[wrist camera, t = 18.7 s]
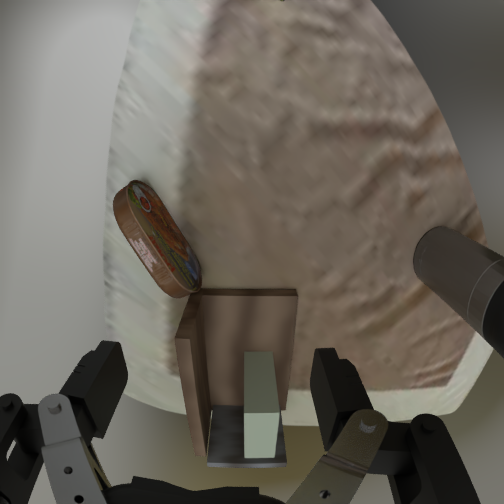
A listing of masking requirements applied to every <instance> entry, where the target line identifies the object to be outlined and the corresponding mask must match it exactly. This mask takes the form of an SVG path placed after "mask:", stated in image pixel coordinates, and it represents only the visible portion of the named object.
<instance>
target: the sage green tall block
mask: <svg viewBox="0 0 504 504" xmlns="http://www.w3.org/2000/svg"><path fill="white" fill-rule="evenodd" d="M279 415H280V411H279V402H278V394H277V385H276V377H275V368H274V360H273V351H272V352H244V456H245V458H274V457H275V449H276V441H277V432H278V424H279Z"/></svg>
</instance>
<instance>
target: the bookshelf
mask: <svg viewBox="0 0 504 504" xmlns="http://www.w3.org/2000/svg"><path fill="white" fill-rule="evenodd" d="M297 300H298V295H297V292H296V289H287V290H269V289H200V290H199V291H197V292H193V293H191V294H190V296H189V299H188V302H187V305H186V307H185V310H184V313H183V316H182V319H181V321H180V324H179V327H178V330H177V333H176V336H175V345H176V352H177V359H178V366H179V372H180V378H181V384H182V390H183V396H184V402H185V407H186V413H187V418H188V422H189V428H190V433H191V438H192V442H193V447H194V452H195V455H196V456H206V453H207V444H208V436H209V427H210V418H211V410H213V412H212V421H211V430H210V439H209V449H208V459H207V465H208V466H210V467H235V468H263V467H286V464H287V459H286V451H285V443H284V434H283V425H282V417H281V410H286V402H287V394H288V386H289V378H290V369H291V361H292V351H293V342H294V332H295V322H296V311H297ZM272 351H273V360H274V368H275V377H276V385H277V394H278V402H279V411H280V415H279V424H278V432H277V441H276V449H275V457H274V458H245V456H244V352H272Z"/></svg>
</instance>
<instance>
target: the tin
mask: <svg viewBox="0 0 504 504" xmlns="http://www.w3.org/2000/svg"><path fill="white" fill-rule="evenodd" d="M113 210H114V215H115V218H116V221H117V223H118V226H119V228H120V229H121V231H122V233H123V234H124V236H125V237H126V239H127V241H128V242H129V244H130V245H131V247H132V248H133V250H134V251H135V253H136V254H137V256H138V257H139V259H140V260H141V262H142V263H143V265H144V266H145V268H146V269H147V270H148V272H149V273H150V275H151V276H152V278H153V279H154V280H155V282H156V283H157V285H158V286H159V287H160V288H161V289H162V290H163V291H164V292H165V293H166V294H168V295H170V296H171V297H174V298H182V297H185V296H187V295H189V294H191V293H193V292H197V291H199V290H200V288H201V285H202V276H201V270H200V267H199V263H198V261H197V259H196V256H195V254H194V253H193V251H192V249H191V247H190V246H189V244H188V243H187V241H186V240H185V238H184V237H183V235H182V233H181V232H180V230H179V229H178V227H177V226H176V224H175V222H174V221H173V219H172V217H171V216H170V214H169V213H168V211H167V209H166V208H165V206H164V205H163V203H162V201H161V200H160V198H159V197H158V196H157V194H156V193H155V192H154V191H153V190H152V189H151V188H150V187H149V186H148V185H146V184H145V183H143V182H141V181H138V180H133V181H131V182H130V183H129V184H128V185H127V186H125V187H124V188H123V189H121V190H120V191H119V192H118V193H117V194H116V195H115V197H114V201H113Z"/></svg>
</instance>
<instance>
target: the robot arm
mask: <svg viewBox="0 0 504 504" xmlns="http://www.w3.org/2000/svg"><path fill="white" fill-rule="evenodd" d="M414 269H415V273H416V275H417V276H418V278H419V279H420V280H421V281H422V282H423V283H424V284H426V285H427V286H428V287H429V288H430V289H431V290H432V291H433V292H435V293H436V294H437V295H438V296H439V297H440V298H441V299H442V300H443V301H445V302H446V303H447V304H448V305H449V306H450V307H451V308H452V309H453V310H454V311H455V312H457V313H458V314H459V315H460V316H461V317H462V318H463V319H464V320H465V321H466V322H467V323H468V324H469V325H470V326H471V327H473V328H474V329H475V330H476V331H477V332H478V333H479V334H480V335H481V336H482V337H483V338H484V339H485V340H486V341H487V342H488V343H489V344H490V345H491V346H492V347H493V348H494V349H495V350H496V351H497V352H498V353H499V354H500V355H501V356H502V357H503V358H504V257H503V256H502V255H500V254H498V253H496V252H494V251H492V250H491V249H489V248H487V247H485V246H483V245H481V244H479V243H478V242H476V241H474V240H472V239H470V238H468V237H466V236H464V235H462V234H460V233H458V232H456V231H454V230H452V229H450V228H447V227H436V228H434V229H432V230H430V231H429V232H428V233H426V234H425V235H424V237H423V238H422V239H421V241H420V242H419V244H418V246H417V248H416V251H415V255H414ZM77 365H78V366H76V367H75V369H74V370H73V371H74V372H72V373H71V375H70V376H69V378H68V380H67V381H66V383H65V384H64V386H63V387H62V389H61V390H60V392H59V394H51V395H48V396H46V397H45V398H43V399H42V400H41V401H40V403H39V404H23V402H22V400H21V399H20V397H19V396H18V395H16V394H11V393H10V394H5V395H3V396H1V397H0V504H28V501H29V498H30V496H31V493H32V490H33V488H34V485H35V482H36V480H37V477H38V475H39V472H40V470H41V467H42V465H43V463H45V466H46V470H47V474H48V477H49V481H50V484H51V488H52V491H53V494H54V497H55V500H56V503H57V504H349V503H350V502H351V500H352V498H353V497H354V495H355V493H356V491H357V490H358V488H359V486H360V484H361V483H362V481H363V479H364V477H365V475H366V473H370V474H384V475H387V476H388V480H389V483H390V487H391V491H392V495H393V498H394V502H395V504H481V503H480V501H479V498H478V496H477V493H476V491H475V489H474V486H473V484H472V482H471V479H470V477H469V475H468V473H467V470H466V468H465V466H464V464H463V461H462V459H461V457H460V455H459V453H458V451H457V449H456V447H455V444H454V442H453V440H452V438H451V436H450V434H449V432H448V430H447V428H446V426H445V424H444V423H443V421H442V420H441V419H440V418H439V417H437V416H435V415H432V414H420V415H417V416H416V417H414V418H413V420H412V422H411V423H398V422H390V421H387V419H386V417H385V416H384V415H383V414H382V413H380V412H378V411H376V410H374V409H373V406H372V404H371V402H370V399H369V397H368V395H367V393H366V390H365V388H364V386H363V384H362V381H361V379H360V377H359V374H358V372H357V370H356V368H355V366H354V365H353V364H352V363H351V362H350V361H349V360H347V359H339V358H338V355H337V353H336V350H335V348H316V349H315V352H314V358H313V364H312V371H311V377H310V388H311V394H312V398H313V402H314V406H315V410H316V415H317V419H318V423H319V427H320V432H321V436H322V440H323V445H324V449H325V451H328V453H327V454H326V455H323V456H322V457H321V458H320V459H319V461H318V462H317V463H316V465H315V466H314V468H313V469H312V470H311V472H310V473H309V474H308V476H307V477H306V478H305V480H304V481H303V482H302V483H301V485H300V486H299V487H298V489H297V490H296V491H295V492H294V494H293V495H292V496H291V497H290V499H289V500H288V501H287V502H286V503H284V502H282V501H280V500H278V499H275V498H273V497H269V496H266V495H260V494H259V487H221V488H214V489H208V490H200V491H191V490H187V489H184V488H181V487H178V486H175V485H172V484H170V483H167V482H164V481H160V480H154V479H147V478H142V477H136V476H133V479H132V482H131V483H130V484H129V483H128V484H120V485H116V486H113V487H112V486H111V484H110V483H109V481H108V479H107V477H106V475H105V473H104V471H103V469H102V466H101V464H100V462H99V460H98V457H97V455H96V452H95V450H94V448H93V445H92V443H91V441H92V438H93V437H97V438H101V439H103V438H104V435H105V433H106V430H107V428H108V426H109V423H110V421H111V419H112V416H113V414H114V412H115V409H116V407H117V405H118V402H119V400H120V398H121V395H122V393H123V391H124V389H125V386H126V384H127V380H128V371H127V367H126V363H125V359H124V355H123V351H122V347H121V344H120V343H119V342H113V341H104V340H103V341H101V342H100V344H99V345H98V347H97V348H96V350H95V351H92V350H91V351H90V352H89V353H87V354H86V355H84V356H83V357H82V359H81V360H80V361H79V363H78V364H77ZM13 440H14V441H15V442H16V444H15V446H14V448H13V450H12V452H11V454H10V456H9V459H8V461H7V458H6V455H7V451H8V450H9V448H10V446H11V444H12V442H13Z"/></svg>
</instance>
